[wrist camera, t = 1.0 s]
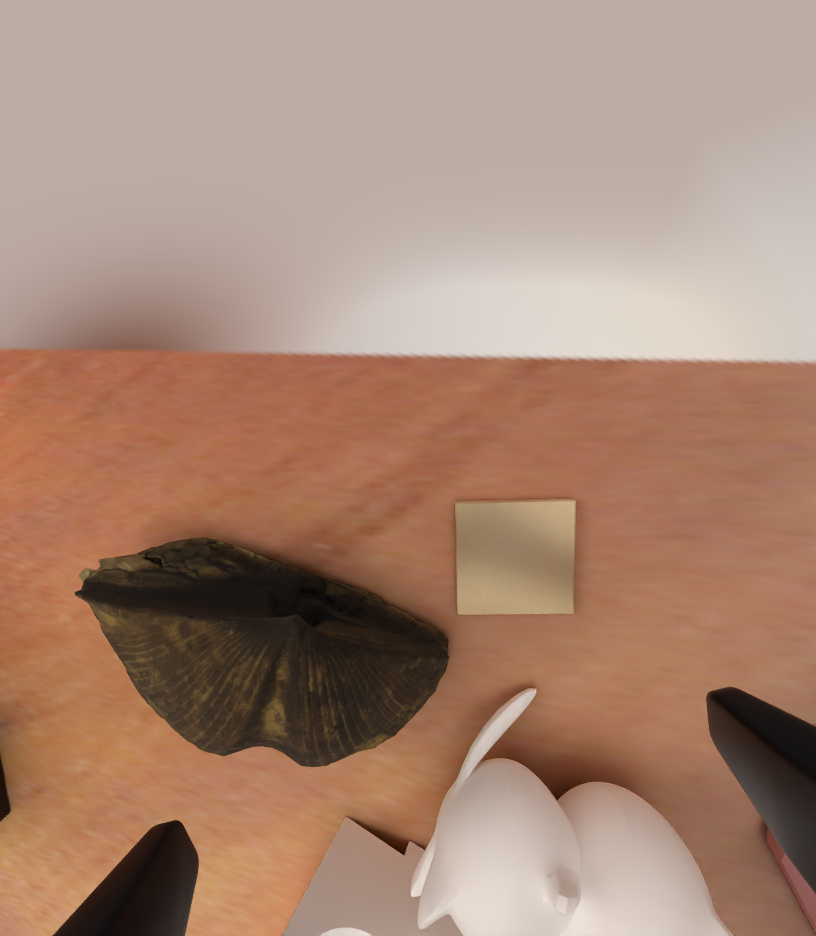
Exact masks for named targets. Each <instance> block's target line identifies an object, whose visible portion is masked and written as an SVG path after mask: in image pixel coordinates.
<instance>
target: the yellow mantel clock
mask: <svg viewBox="0 0 816 936" xmlns="http://www.w3.org/2000/svg"><path fill="white" fill-rule="evenodd" d="M766 842H767V844H768V846H769V847H770V849H771V851H772V853H773V855H774V857H775V859H776V861H777V862H778V864H779V866H780V868H781V870H782V872H783V874H784V876H785V877H786V879H787V881H788V883H789V885H790V887H791V889H792V891H793V892H794V894H795V896H796V898H797V900H798V902H799V904H800V906H801V907H802V909H803V911H804V913H805V915H806V917H807V919H808V921H809V922H810V924H811V926H812V928H813V930H814V932H815V934H816V894H815V893H814V891H813V890H812V889H811V887H810V886H809V885H808V883H807V882H806V881H805V880H804V878H803V877H802V876H801V874H800V873H799V872H798V870H797V869H796V867H795V866H794V865H793V863H792V862H791V861H790V859H789V858H788V857H787V855H786V854H785V852H784V851H783V849H782V848H781V846H780V845H779V843H778V842H777V840H776V839H775V837H774V836H773V834H772V833H771V831H770V830H767V839H766Z"/></svg>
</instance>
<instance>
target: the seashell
mask: <svg viewBox="0 0 816 936" xmlns="http://www.w3.org/2000/svg"><path fill="white" fill-rule="evenodd" d="M98 560H99V562H100V568H99V569H98V570H91V569H84V570H83V571H82V572H81V574H80V575H79V576H80V578H81V579H82V581H83V586H82V590H79V591H76V592H75V595H76V596H78V597H79V598H81V599H83V600H84V601H86V602H88V603H89V604H90V606H91V608H92V610H93V612H94V614H95V616H96V618H97V619H98V620H99V622H100V625H101V628H102V631H103V633H104V635H105V636H106V638H107V639H108V641H109V643H110V644H111V646H112V647H113V649H114V650H115V652H116V653H117V655H118V656H119V658H120V660H121V661H122V663H123V664H124V666H125V667H126V670H127V673H128V675H129V677H130V679H131V681H132V682H133V684H134V686H135V687H136V689H137V690H138V692H139V693H140V695H141V696H142V697H143V699H144V700H145V701H146V702H147V704H149V705H150V706H151V707H152V708H153V709H154V711H155V712H156V713H157V714H158V715H159V716H160V717H162V718H163V719H165V721H166V722H167V723H168V724H169V725H170V726H171V727H172V728H173V729H174V730H175V731H176V732H177V733H179V734H180V735H181V736H182V737H183V738H184V739H186V740H187V741H189V742H191V743H193V744H194V745H195V746H197V747H198V748H199V749H200V750H203V751H206V752H208V753H214V754H217V755H221V756H226V755H229V754H232V753H235V752H238V751H241V750H244V749H247V748H250V747H256V746H264V747H271V748H274V749H276V750H278V751H281V752H283V753H284V754H286V755H287V756H289V757H290V758H291V759H293V760H294V761H295V762H297V763H298V764H299V765H301V766H308V767H320V766H326V765H329V764H330V763H333V762H336V761H339V760H341V759H343V758H345V757H347V756H349V755H352V754H354V753H356V752H358V751H363V750H367V749H372V748H375V747H377V746H378V745H379V744H381V743H383V742H384V741H386V740H387V739H389V738H391V737H393V736H395V735H396V734H397V732H398V731H399V730H400V729H401V728H403V727H404V726H405V724H406V723H407V722H408V721H409V720H410V719H411V718H412V717H413V716H414V715H415V714H416V713H417V712H418V711H419V710H420V709H421V708H422V706H423V705H424V704H425V703H426V701H427V700H428V698H429V697H430V696H431V695H432V694H433V693H434V692H435V690H436V688H437V685H438V682H439V680H440V679H441V677H442V676H443V674H444V673H445V671H446V667H447V663H448V659H449V656H448V638H447V637H446V636H445V635H444V634H443V633H442V632H440V631H438V630H436V629H434V628H432V627H430V626H428V625H426V624H425V623H423V622H421V621H419V620H417V619H416V618H414V617H412V616H410V615H408V614H406V613H405V612H403V611H400V610H398V609H396V608H395V607H394V606H389V605H388V604H387V603H386V602H384V601H383V600H381V599H379V598H378V597H376V596H374V595H373V594H371V593H370V592H368V591H365V590H361V589H357V588H355V587H353V586H351V585H348V584H345V583H341V582H338V581H335V580H332V579H328V578H325V577H322V576H319V575H316V574H312V573H309V572H306V571H303V570H301V569H300V568H296V567H291V566H288V564H284V563H281V562H278V561H276V560H273V559H270V558H268V557H265V556H262V555H260V554H257V553H254V552H252V551H249V550H246V549H244V548H241V547H238V546H234V545H230V544H227V543H224V542H221V541H217V540H213V539H208V538H204V537H203V538H192V539H186V540H180V541H174V542H169V543H166V544H164V545H161V546H158V547H151V548H149V549H147V550H145V551H142V552H140V553H138V554H133V555H127V556H121V557H115V558H107V559H98Z"/></svg>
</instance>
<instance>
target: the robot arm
mask: <svg viewBox="0 0 816 936" xmlns="http://www.w3.org/2000/svg"><path fill="white" fill-rule="evenodd" d="M706 702H707V712H708V722H709V731H710V735H711V738H712V740H713V742H714V744H715V746H716V748H717V749H718V751H719V753H720V754H721V756H722V757H723V759H724V760H725V762H726V763H727V765H728V766H729V768H730V770H731V771H732V773H733V774H734V776H735V777H736V779H737V780H738V782H739V783H740V785H741V787H742V788H743V790H744V791H745V793H746V794H747V796H748V797H749V799H750V800H751V802H752V803H753V805H754V807H755V808H756V810H757V811H758V813H759V814H760V816H761V817H762V819H763V820H764V822H765V824H766V825H767V827H768V828H769V830H770V831H771V833H772V834H773V836H774V837H775V839H776V840H777V842H778V843H779V845H780V846H781V848H782V849H783V851H784V852H785V854H786V855H787V857H788V858H789V859H790V861H791V862H792V863H793V865H794V866H795V867H796V869H797V870H798V872H799V873H800V874H801V876H802V877H803V878H804V880H805V881H806V882H807V883H808V885H809V886H810V887H811V889H812V890H813V891H814V893H815V894H816V726H814V725H812V724H810V723H808V722H806V721H803V720H801V719H799V718H797V717H795V716H793V715H791V714H789V713H787V712H785V711H783V710H781V709H779V708H777V707H775V706H773V705H771V704H769V703H767V702H764V701H762V700H760V699H758V698H756V697H754V696H752V695H750V694H748V693H746V692H744V691H742V690H740V689H737V688H734V687H726V688H722V689H718V690H714V691H710V692H708V694H707V696H706ZM198 866H199V860H198V854H197V851H196V849H195V847H194V845H193V843H192V841H191V839H190V837H189V835H188V833H187V832H186V830H185V828H184V826H183V824H182V823H181V822H180V821H178V820H174V821H170V822H166V823H162V824H158V825H156V826H154V827H152V828H151V829H150V830H149V831H148V832H147V833H146V834H145V835H144V836H143V837H142V838H141V840H140V841H139V842H138V843H137V844H136V845H135V846H134V847H133V848H132V849H131V850H130V852H129V853H128V854H127V855H126V856H125V857H124V858H123V859H122V860H121V861H120V863H119V864H118V865H117V866H116V867H115V868H114V869H113V870H112V871H111V872H110V874H109V875H108V876H107V877H106V878H105V879H104V880H103V881H102V882H101V883H100V884H99V886H98V887H97V888H96V889H95V890H94V891H93V892H92V893H91V894H90V895H89V897H88V898H87V899H86V900H85V901H84V902H83V903H82V904H81V905H80V906H79V908H78V909H77V910H76V911H75V912H74V913H73V914H72V915H71V916H70V917H69V919H68V920H67V921H66V922H65V923H64V924H63V925H62V926H61V927H60V928H59V929H58V931H57V932H56V933H55V934H54V935H53V936H185V932H186V927H187V923H188V918H189V913H190V908H191V903H192V899H193V894H194V889H195V884H196V879H197V874H198Z"/></svg>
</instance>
